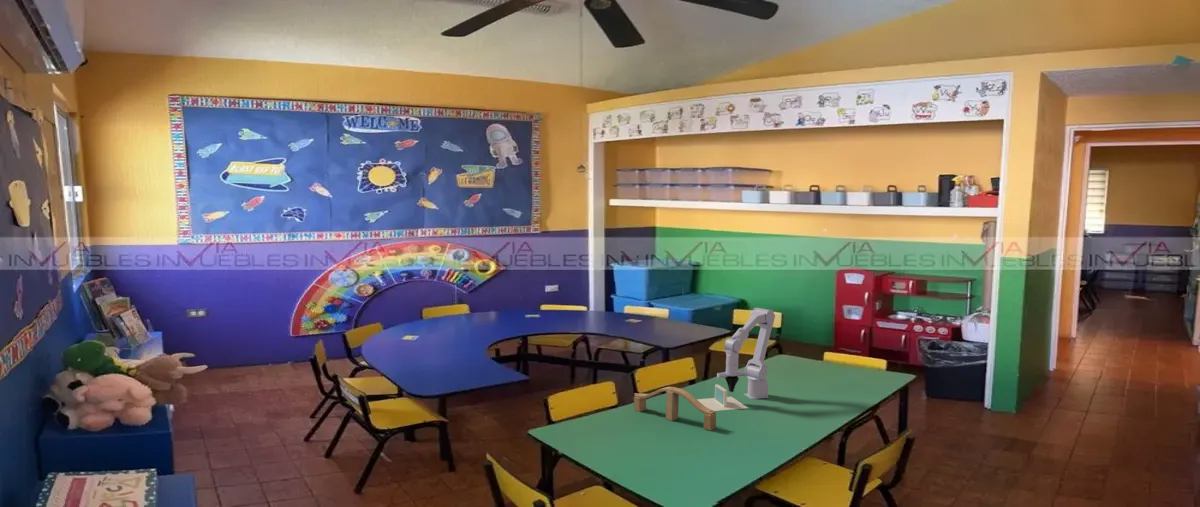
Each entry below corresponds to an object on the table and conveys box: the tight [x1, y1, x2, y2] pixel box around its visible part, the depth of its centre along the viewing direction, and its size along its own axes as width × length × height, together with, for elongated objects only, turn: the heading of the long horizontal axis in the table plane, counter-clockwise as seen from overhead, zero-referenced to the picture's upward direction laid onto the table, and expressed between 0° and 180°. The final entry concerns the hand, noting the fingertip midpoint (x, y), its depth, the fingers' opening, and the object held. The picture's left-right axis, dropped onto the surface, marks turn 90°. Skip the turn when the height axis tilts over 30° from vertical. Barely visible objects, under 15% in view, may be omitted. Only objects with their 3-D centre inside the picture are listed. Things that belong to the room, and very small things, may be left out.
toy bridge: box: [633, 386, 717, 431], centre depth 319 cm, size 42×6×14 cm, turn 50°
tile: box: [714, 384, 728, 407], centre depth 340 cm, size 2×10×8 cm, turn 16°
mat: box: [696, 396, 749, 412], centre depth 340 cm, size 22×18×1 cm
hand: (731, 391), depth 341 cm, fingers closed
